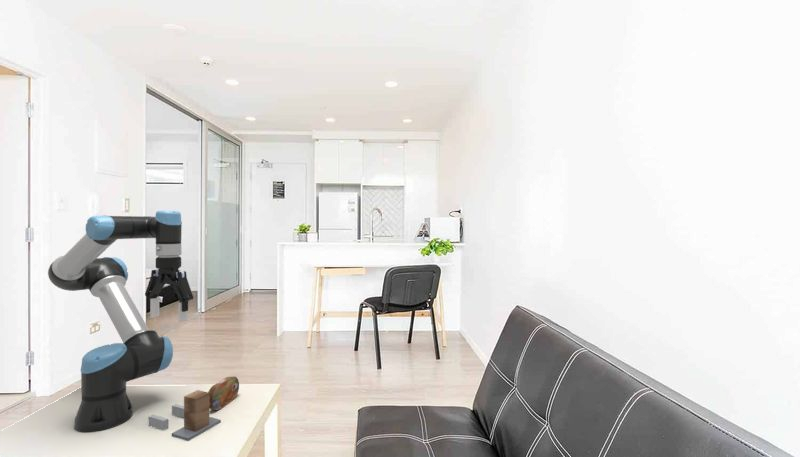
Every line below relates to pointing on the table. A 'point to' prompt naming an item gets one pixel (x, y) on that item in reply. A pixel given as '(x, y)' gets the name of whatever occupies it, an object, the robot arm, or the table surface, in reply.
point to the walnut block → (196, 410)
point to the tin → (223, 393)
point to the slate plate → (189, 434)
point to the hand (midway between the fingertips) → (168, 319)
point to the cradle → (163, 422)
